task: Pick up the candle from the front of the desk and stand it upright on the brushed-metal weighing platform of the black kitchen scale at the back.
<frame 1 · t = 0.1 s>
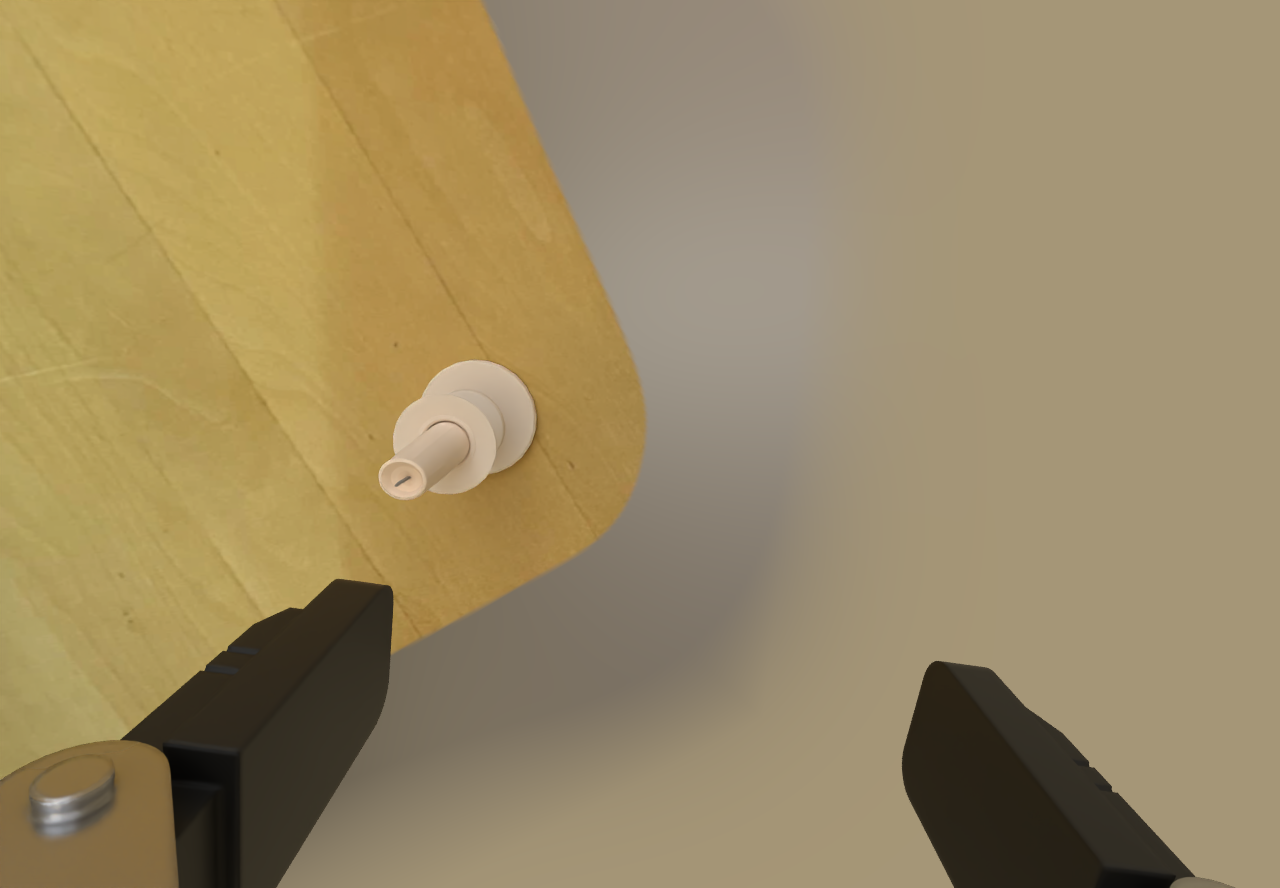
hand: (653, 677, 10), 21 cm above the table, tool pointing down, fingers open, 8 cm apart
candle: (480, 416, 30), on the table
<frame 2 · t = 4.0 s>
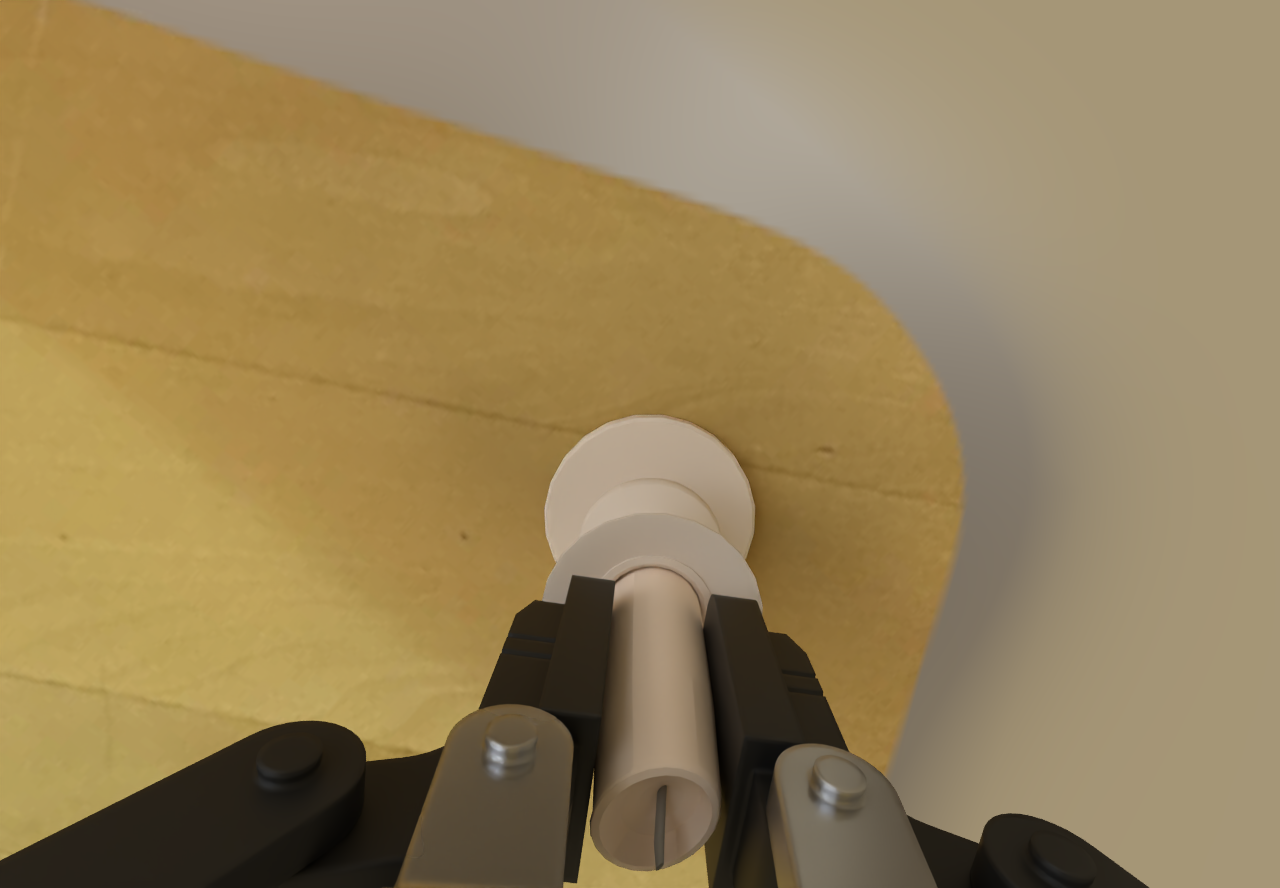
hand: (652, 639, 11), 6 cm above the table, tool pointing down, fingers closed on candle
candle: (649, 511, 17), on the table, touching gripper
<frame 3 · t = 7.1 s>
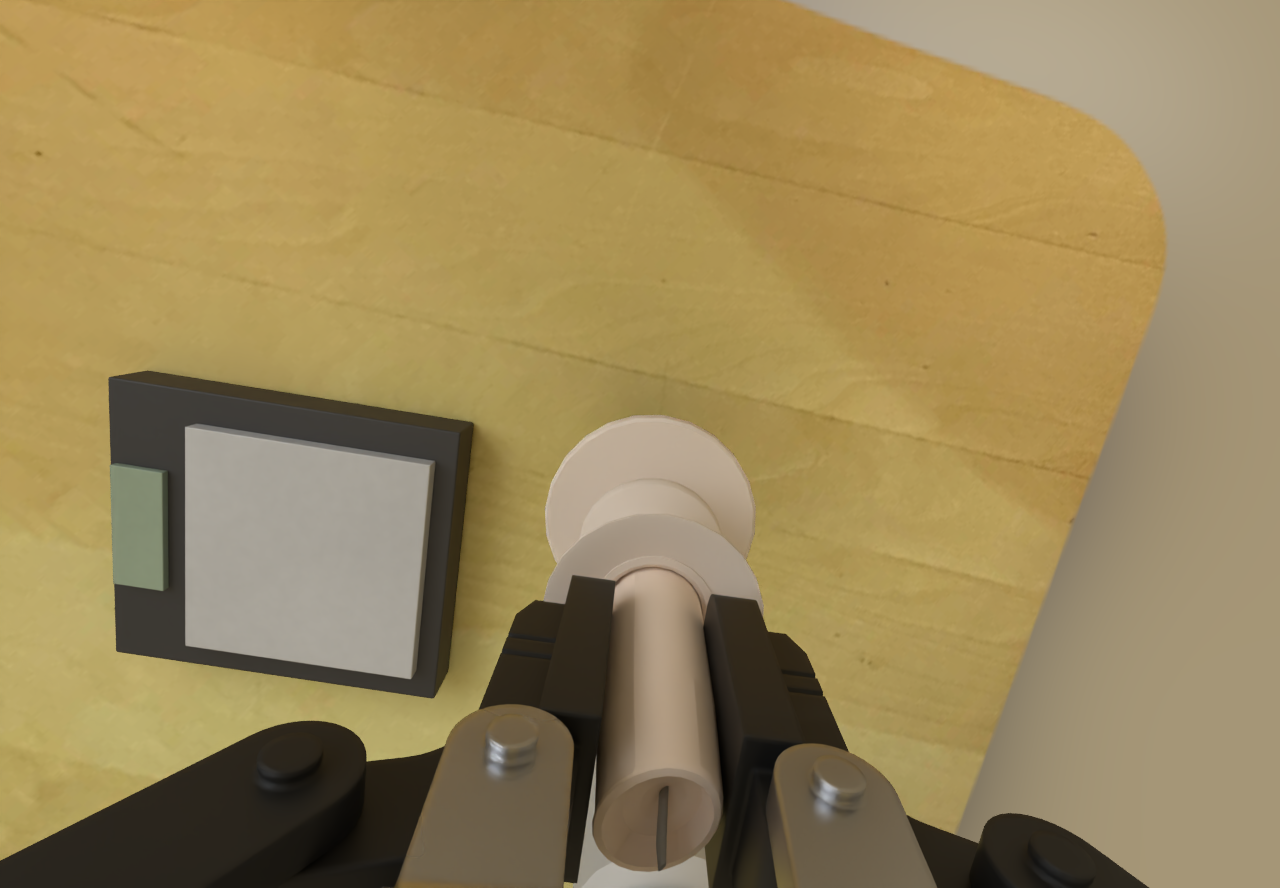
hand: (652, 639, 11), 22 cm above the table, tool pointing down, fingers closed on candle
scale: (305, 529, 34), on the table
candle: (650, 511, 17), point 16 cm above the table, touching gripper
can: (657, 749, 37), on the table
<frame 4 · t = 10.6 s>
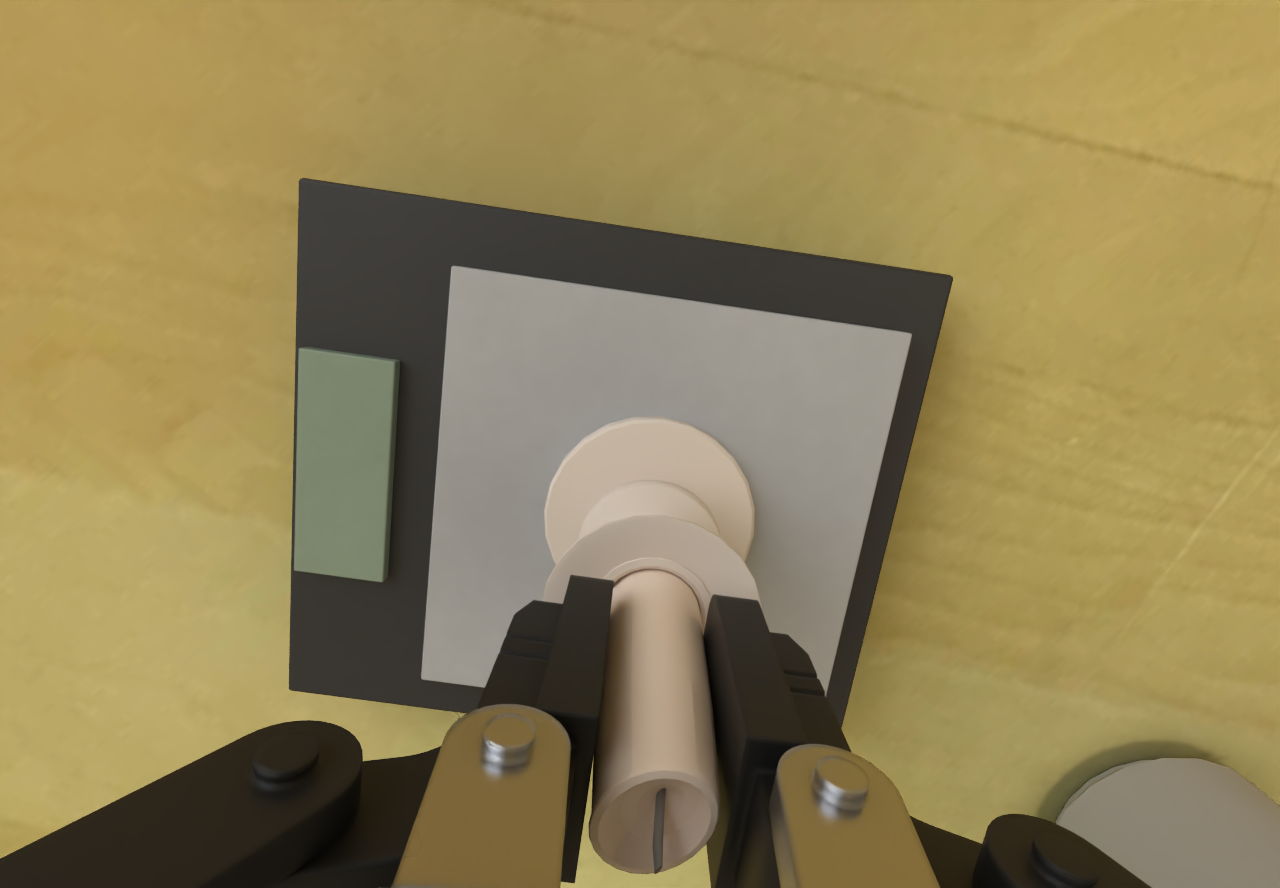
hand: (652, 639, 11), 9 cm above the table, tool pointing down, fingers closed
scale: (600, 475, 20), on the table
candle: (649, 513, 17), point 3 cm above the table, touching scale
can: (1134, 828, 23), on the table
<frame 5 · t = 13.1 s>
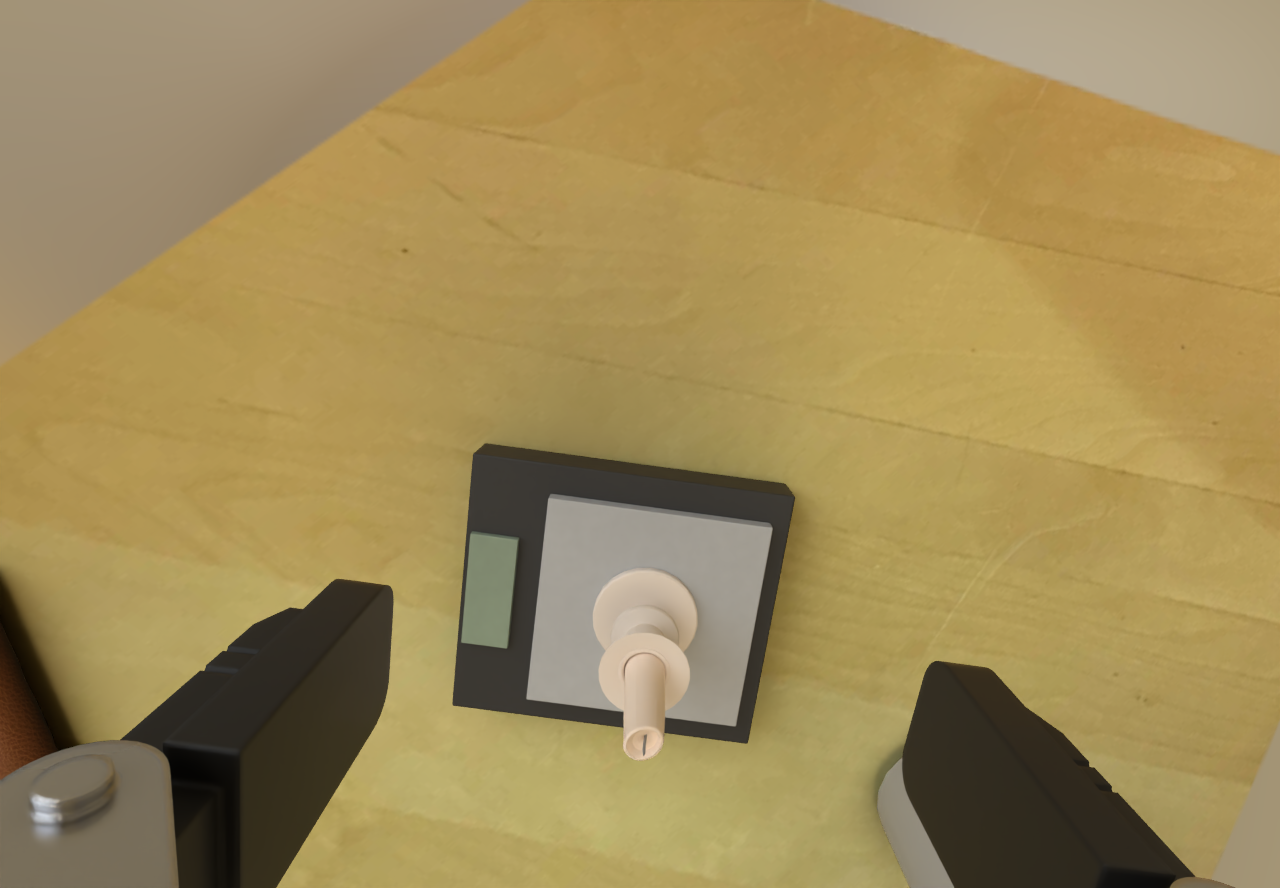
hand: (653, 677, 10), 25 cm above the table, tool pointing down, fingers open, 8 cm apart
sunglasses case: (0, 710, 39), on the table
scale: (618, 585, 36), on the table
candle: (645, 613, 33), point 3 cm above the table, touching scale
can: (934, 786, 39), on the table
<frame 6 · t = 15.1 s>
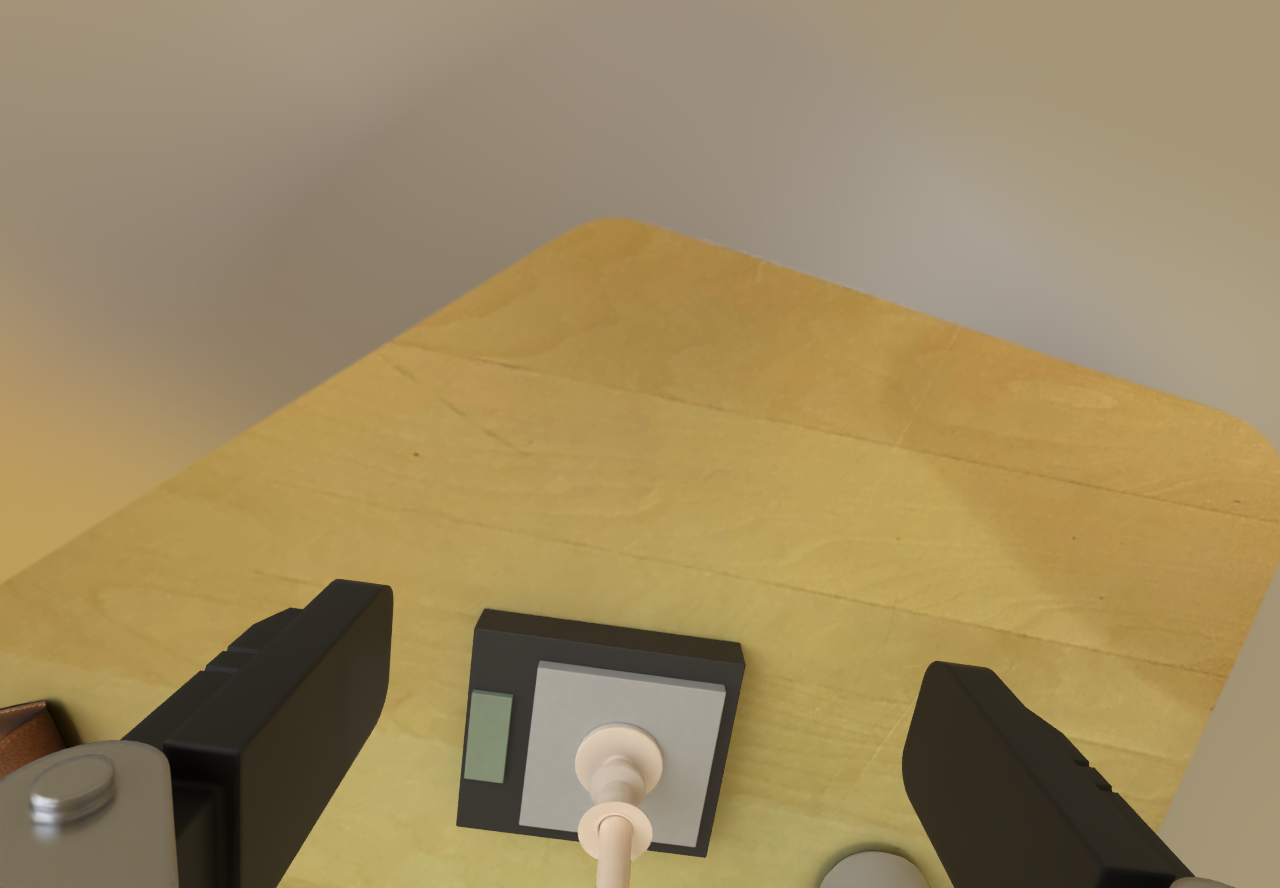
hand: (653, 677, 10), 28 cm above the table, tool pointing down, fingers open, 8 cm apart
sunglasses case: (64, 818, 45), on the table
scale: (598, 722, 42), on the table
candle: (619, 757, 39), point 3 cm above the table, touching scale
can: (867, 883, 45), on the table
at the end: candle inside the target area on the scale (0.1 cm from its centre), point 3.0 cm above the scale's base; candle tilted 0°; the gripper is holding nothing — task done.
